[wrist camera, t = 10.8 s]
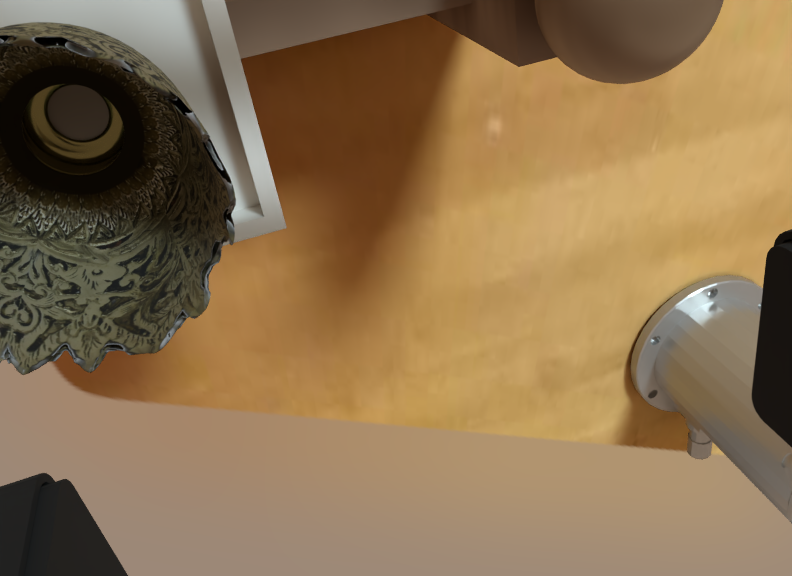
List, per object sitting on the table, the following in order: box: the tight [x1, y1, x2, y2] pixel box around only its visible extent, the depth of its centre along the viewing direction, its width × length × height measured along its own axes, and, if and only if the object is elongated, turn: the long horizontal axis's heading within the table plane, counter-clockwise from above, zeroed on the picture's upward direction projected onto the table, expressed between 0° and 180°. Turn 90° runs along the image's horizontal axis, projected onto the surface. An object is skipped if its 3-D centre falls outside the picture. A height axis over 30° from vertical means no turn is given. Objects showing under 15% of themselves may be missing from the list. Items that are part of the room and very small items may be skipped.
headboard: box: [0, 0, 724, 246], centre depth 28 cm, size 10×25×22 cm, turn 100°
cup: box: [0, 22, 236, 375], centre depth 18 cm, size 8×7×8 cm
